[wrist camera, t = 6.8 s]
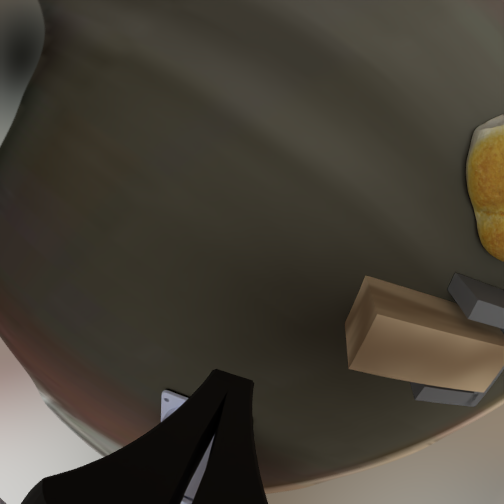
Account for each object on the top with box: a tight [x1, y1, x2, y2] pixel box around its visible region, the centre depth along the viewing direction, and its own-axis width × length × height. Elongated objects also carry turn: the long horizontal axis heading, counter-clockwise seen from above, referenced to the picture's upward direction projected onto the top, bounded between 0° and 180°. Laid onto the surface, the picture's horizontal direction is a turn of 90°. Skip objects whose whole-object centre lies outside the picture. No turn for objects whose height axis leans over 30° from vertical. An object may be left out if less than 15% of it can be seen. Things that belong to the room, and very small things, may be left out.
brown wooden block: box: [345, 275, 504, 393], centre depth 15 cm, size 4×10×4 cm, turn 77°
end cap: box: [410, 273, 504, 407], centre depth 15 cm, size 7×6×4 cm
